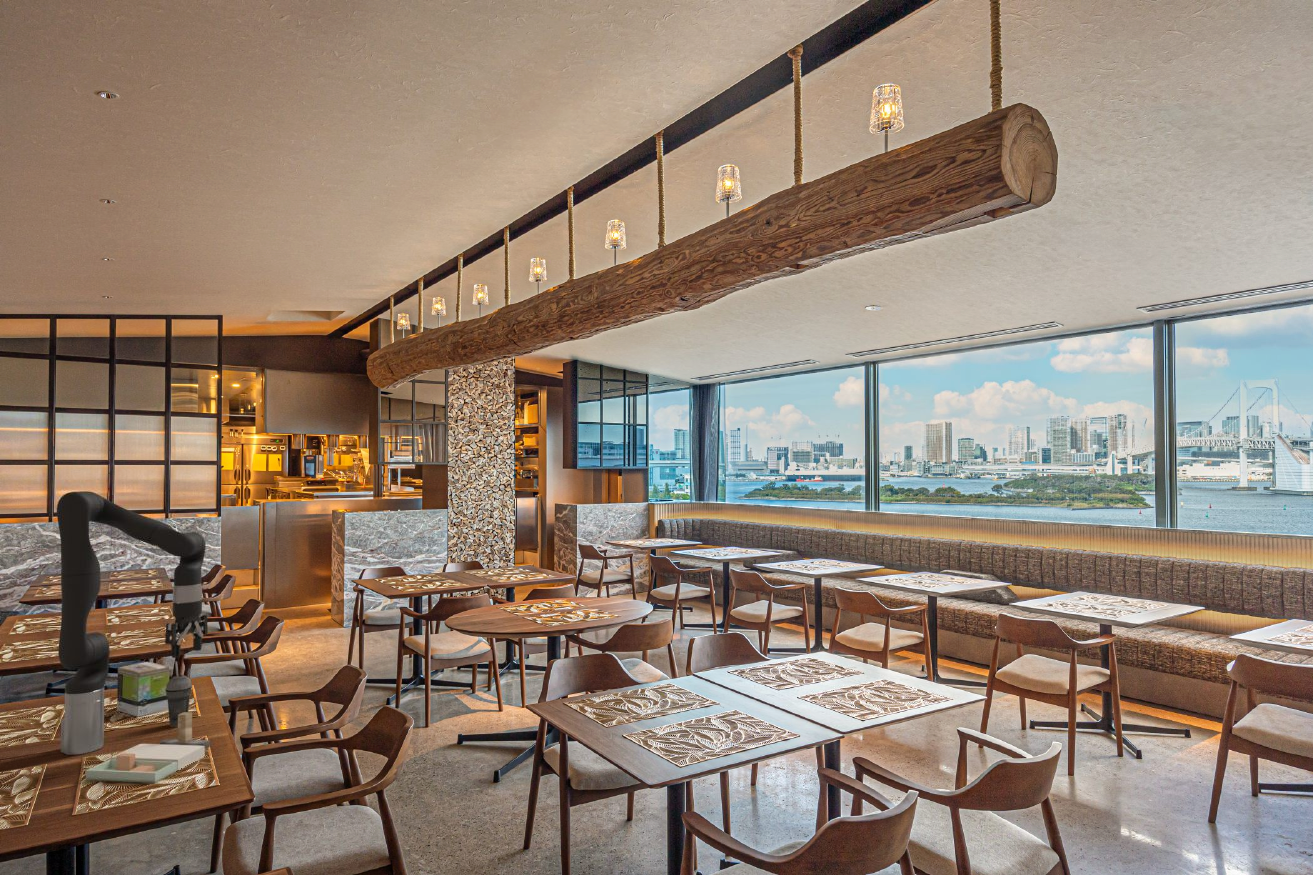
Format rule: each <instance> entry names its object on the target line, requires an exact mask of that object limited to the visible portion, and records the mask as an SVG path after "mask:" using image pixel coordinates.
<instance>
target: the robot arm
mask: <svg viewBox="0 0 1313 875" xmlns="http://www.w3.org/2000/svg"><path fill="white" fill-rule="evenodd" d="M56 516H57V517H56V519H57V523H58V530H59V532H58V533H59V537H60V538H59V539H60V566H61V568H60V569H61V570H60V589H61V619H60V620H61V621H60V622H61V623H60V629H59V630H60V631H59V638H58V640H59V641H58V650H57V651H58V652H57V653H58V659H59V662H60V664H61V665H62V667H63V668H64V669H66V670H67V671H68V670H69V671H76V670H77V671H76V672H75V674H74V675H73V676H72V677H71V678H70V679H69V680H67V681H66V683H65V685H64V717H63V718H62V719H61V721H60V722H61V723H60V724H61V725H60V753H63V754H65V755H68V756H69V755H71V756H72V755H74V756H75V755H83V754H87V753H92V752H94V751H97V750H99V749H101V748H103V747H104V740H105V738H104V735H105V733H104V732H105V683H106V681H107V678H108V675H109V674H108V673H109V668H110V667H109V663H110V651H111V650H110V649H111V648H110V643H109V639H108V638H107V636H106V635H105V634H103V633H101V632H97V631H94V632H93V631H92V632H89V633H87V624H88V623H87V622H88V618H89V615H90V612H91V610H92V607H94V606H93V605H94V604H95V602H96V600H97V598H98V597H99V593H100V590H101V584H102V583H101V565H100V560H99V559H98V556H97V554H96V553H95V550H94V548H93V545H92V544H91V540H90V522H91V523H96V524H97V523H98V524H102V525H107V526H111V527H112V528H115V529H118V530H119V531H121V532H122V533H124V534H126V535H127V536H129V537H130V538H133V539H135V540H137V541H140V542H143V543H146V544H149V545H151V546H154V547H157V548H158V549H160V550H162V551H164V552H166V553H168V554H170V555H172V556H175V557H178V558H179V563H178V564H177V566H176V567H175V568H174V572H173V590H172V617H173V618H175V620H174V622H170V623H169V622H168V623H166V624H165V638H164V639H165V640H164V644H165V645H170V647H171V648H170V650H171V651H170V654H171V657H172V659H177V658H180V657H181V644H182V643H181V642H182V640H183V639H184V638H186V636H187V635H189V634H191V635H192V637H193V639H192V640H193V641H192V643H193V644H192V649H193V651H195V652H196V651H197V652H199V651H201V650H202V646H203V637H204V636H205V635H207V634H208V632H209V629H208V615H207V614H202V613H203V588H202V567H203V563H204V559H205V554H206V541H205V540H206V539H205V538H204V536H203V535H202V534H201V533H199V532H195V531H194V532H193V531H191V532H186V533H184V532H181V531H178V530H176V529H173V527H172V526H171V525H169V524H167V523H165V522H163V521H159V520H156V519H154V518H151V517H147V516H145V515H142V514H139V513H137V512H135V511H132V510H129V509H126V508H125V507H122V506H120V505H118V504H117V503H114V502H112V501H111V500H109V499H107V498H106V497H104V496H102V495H100V494H97V493H96V492H93V491H87V490H84V491H83V490H82V491H69V492H67V493H65V494H63V495H62V496H61V497H60V498H59V500H58V502H57V504H56ZM202 627H203V628H202Z"/></svg>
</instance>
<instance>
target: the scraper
mask: <svg viewBox="0 0 1313 875" xmlns="http://www.w3.org/2000/svg"><path fill="white" fill-rule="evenodd" d="M159 744H164V745H193V746H205V750H206V749H209V748H210V747H211V746H210V744H211V740H208V739H206V740H203V739H202V740H201V739H193V712H190V711H188V712H184V713H181V714H179V715H178V727H177V739H172V738H166V739H163V740H162V741H159Z"/></svg>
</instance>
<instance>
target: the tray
mask: <svg viewBox="0 0 1313 875" xmlns="http://www.w3.org/2000/svg"><path fill="white" fill-rule="evenodd" d="M140 765H142V766H154V772H140V771H116V759H111V758H110V759H108V760H106V761H103V762H102V763H100V764H97V765H95V766H92V767H91V768H89V769H86V770H85V781H99V782H100V781H103V782H121V781H122V782H124V783H147V784H148V783H149V784H151V783H152V784H156V783H158V782H160V781H161V780H164V779H165V778H167V777H170V776H172V775H173V774H175V773H177V772H178V771H177V762H172V761H145V760H135V768H136V767H138V766H140ZM176 771H177V772H176Z"/></svg>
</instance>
